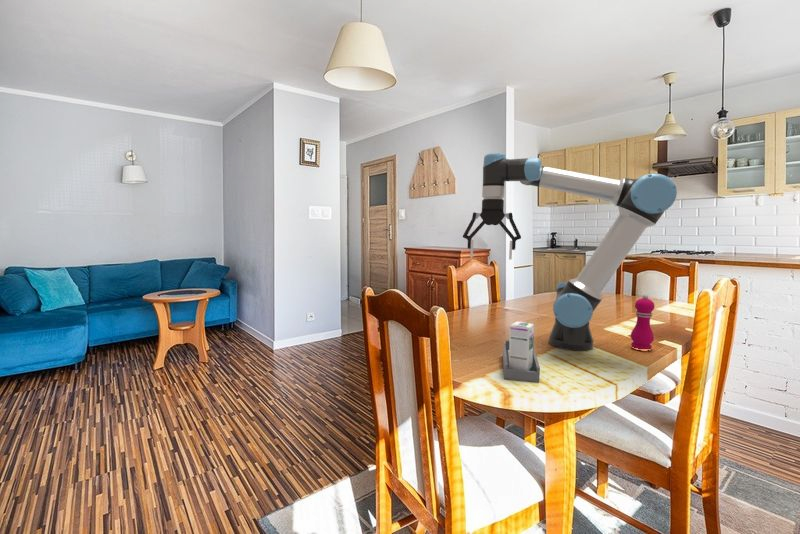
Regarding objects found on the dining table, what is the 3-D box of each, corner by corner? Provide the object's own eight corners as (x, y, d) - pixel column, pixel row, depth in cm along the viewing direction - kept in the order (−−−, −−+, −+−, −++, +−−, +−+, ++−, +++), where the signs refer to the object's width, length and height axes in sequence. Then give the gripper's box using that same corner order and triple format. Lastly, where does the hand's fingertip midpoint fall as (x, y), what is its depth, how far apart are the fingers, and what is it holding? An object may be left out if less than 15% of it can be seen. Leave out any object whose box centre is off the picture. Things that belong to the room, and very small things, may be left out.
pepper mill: (651, 347, 149) (656, 293, 147) (654, 353, 142) (659, 296, 140) (628, 344, 152) (632, 291, 150) (630, 350, 145) (634, 295, 143)
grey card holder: (502, 356, 137) (503, 339, 136) (532, 359, 134) (533, 342, 134) (504, 379, 117) (504, 359, 117) (539, 382, 115) (540, 362, 114)
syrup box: (528, 376, 117) (530, 327, 115) (507, 372, 120) (509, 324, 118) (532, 370, 122) (535, 323, 120) (513, 367, 125) (515, 320, 123)
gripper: (528, 199, 145) (526, 258, 148) (458, 199, 151) (456, 256, 153) (530, 198, 138) (527, 260, 140) (456, 198, 144) (454, 258, 146)
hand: (490, 258), depth 147 cm, fingers open, 13 cm apart
